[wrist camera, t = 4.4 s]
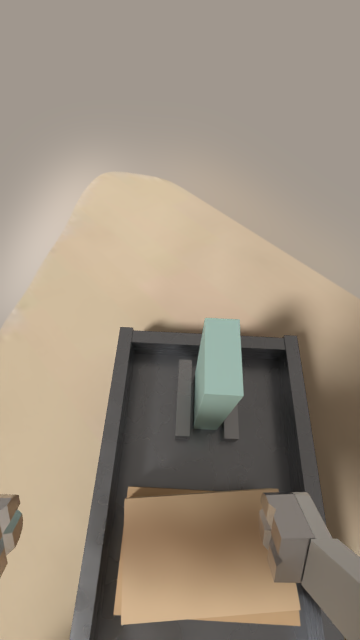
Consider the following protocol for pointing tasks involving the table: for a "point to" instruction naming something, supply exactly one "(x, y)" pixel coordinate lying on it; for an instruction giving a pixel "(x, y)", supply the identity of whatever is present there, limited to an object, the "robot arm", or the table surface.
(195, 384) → the sage board
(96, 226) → the table surface
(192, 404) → the tray
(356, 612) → the robot arm
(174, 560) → the offcut stack
